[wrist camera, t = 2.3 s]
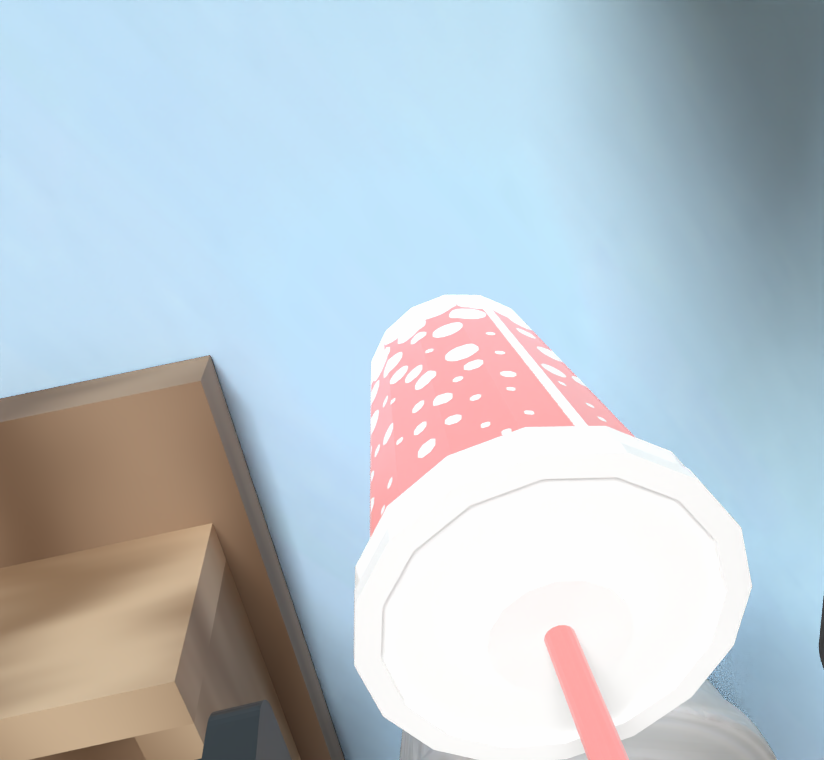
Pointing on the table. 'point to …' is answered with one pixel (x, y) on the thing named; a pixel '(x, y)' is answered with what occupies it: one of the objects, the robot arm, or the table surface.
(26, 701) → the cup holder
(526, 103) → the table surface
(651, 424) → the table surface
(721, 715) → the ramekin
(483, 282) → the table surface
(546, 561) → the beverage cup
